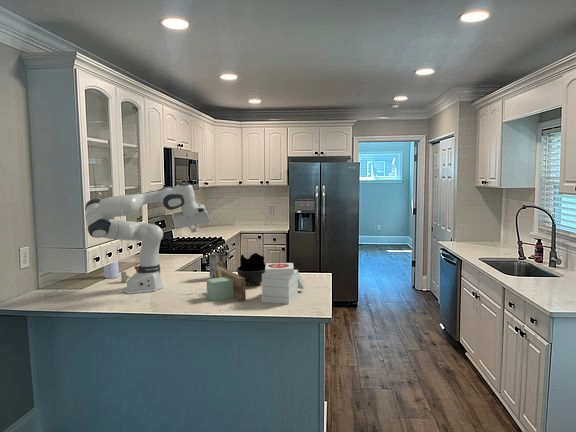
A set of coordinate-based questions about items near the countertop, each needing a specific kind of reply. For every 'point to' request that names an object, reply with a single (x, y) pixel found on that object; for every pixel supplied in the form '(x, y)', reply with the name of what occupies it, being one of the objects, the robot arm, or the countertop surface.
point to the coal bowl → (252, 269)
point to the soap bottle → (111, 270)
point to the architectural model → (124, 277)
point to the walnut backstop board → (236, 284)
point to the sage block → (220, 288)
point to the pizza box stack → (281, 283)
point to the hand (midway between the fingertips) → (194, 231)
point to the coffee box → (217, 265)
